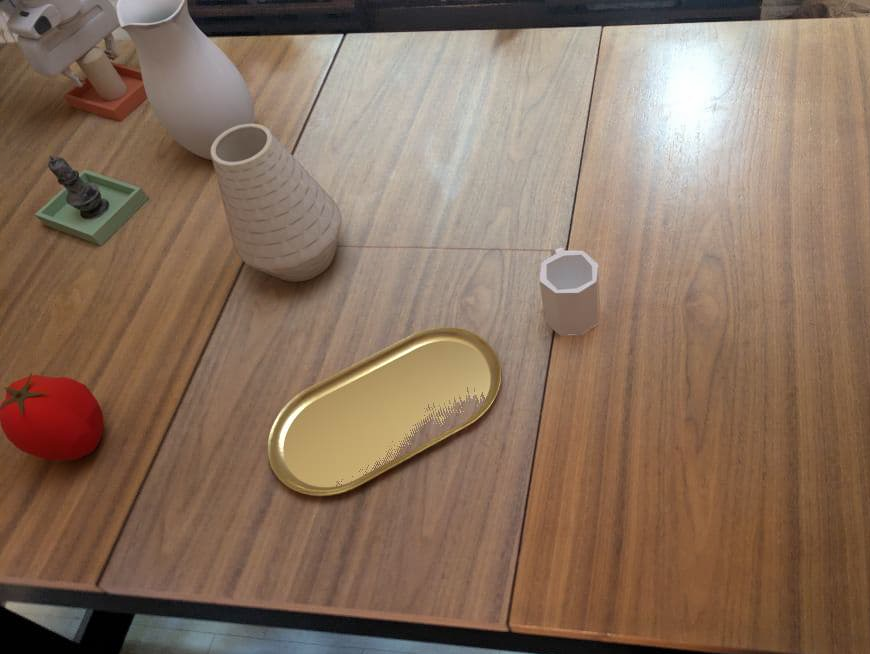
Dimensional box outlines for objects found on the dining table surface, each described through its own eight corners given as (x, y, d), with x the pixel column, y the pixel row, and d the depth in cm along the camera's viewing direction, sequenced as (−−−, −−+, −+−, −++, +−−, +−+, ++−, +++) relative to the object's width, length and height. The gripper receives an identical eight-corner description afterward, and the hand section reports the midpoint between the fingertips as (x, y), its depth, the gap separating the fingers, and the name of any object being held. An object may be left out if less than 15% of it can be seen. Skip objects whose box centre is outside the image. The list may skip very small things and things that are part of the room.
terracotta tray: (70, 106, 148) (62, 95, 145) (112, 71, 153) (105, 60, 151) (120, 121, 143) (113, 110, 141) (162, 84, 149) (155, 73, 146)
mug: (608, 328, 105) (607, 284, 97) (552, 343, 105) (547, 301, 96) (583, 270, 111) (580, 225, 103) (531, 285, 111) (524, 240, 102)
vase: (232, 285, 117) (154, 174, 97) (285, 211, 125) (223, 96, 105) (322, 307, 112) (260, 197, 93) (372, 230, 120) (324, 113, 101)
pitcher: (281, 144, 135) (210, -3, 111) (199, 184, 131) (106, 41, 107) (236, 86, 146) (162, -59, 122) (159, 121, 142) (68, -21, 118)
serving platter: (526, 399, 100) (525, 393, 99) (298, 525, 93) (294, 520, 92) (466, 313, 109) (464, 307, 108) (254, 422, 102) (249, 417, 101)
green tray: (44, 225, 129) (34, 214, 127) (93, 179, 134) (84, 169, 132) (101, 246, 125) (91, 235, 122) (149, 198, 130) (140, 187, 128)
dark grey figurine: (77, 204, 130) (31, 151, 120) (109, 193, 131) (66, 139, 121) (79, 224, 127) (32, 172, 117) (112, 213, 128) (68, 160, 118)
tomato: (67, 492, 99) (-3, 448, 88) (29, 442, 104) (-42, 395, 93) (138, 436, 103) (80, 387, 92) (98, 391, 108) (38, 339, 97)
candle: (107, 105, 146) (76, 59, 137) (97, 93, 148) (65, 48, 139) (131, 92, 147) (102, 46, 139) (121, 81, 150) (91, 36, 141)
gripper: (80, -29, 137) (122, 39, 149) (-1, 29, 128) (50, 97, 140) (103, -24, 135) (144, 45, 147) (23, 36, 126) (73, 104, 138)
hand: (98, 71), depth 143 cm, fingers open, 8 cm apart
